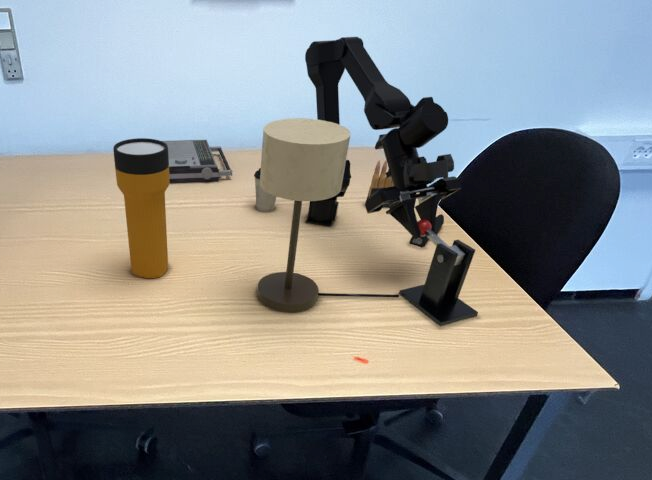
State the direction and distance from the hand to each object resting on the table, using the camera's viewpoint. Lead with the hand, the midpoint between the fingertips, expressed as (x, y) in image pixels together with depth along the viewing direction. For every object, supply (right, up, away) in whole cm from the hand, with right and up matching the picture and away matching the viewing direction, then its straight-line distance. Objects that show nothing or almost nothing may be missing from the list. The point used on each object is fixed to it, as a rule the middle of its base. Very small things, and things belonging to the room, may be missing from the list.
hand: (425, 236), depth 101 cm
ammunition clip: (+5, +17, +39) cm, 43 cm away
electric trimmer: (+10, +6, +26) cm, 28 cm away
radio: (-47, +35, +59) cm, 83 cm away
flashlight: (-55, -5, +11) cm, 56 cm away
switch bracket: (+3, -13, +2) cm, 14 cm away
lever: (+1, -2, -1) cm, 3 cm away
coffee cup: (-28, +16, +37) cm, 49 cm away
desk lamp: (-18, -11, +4) cm, 22 cm away
